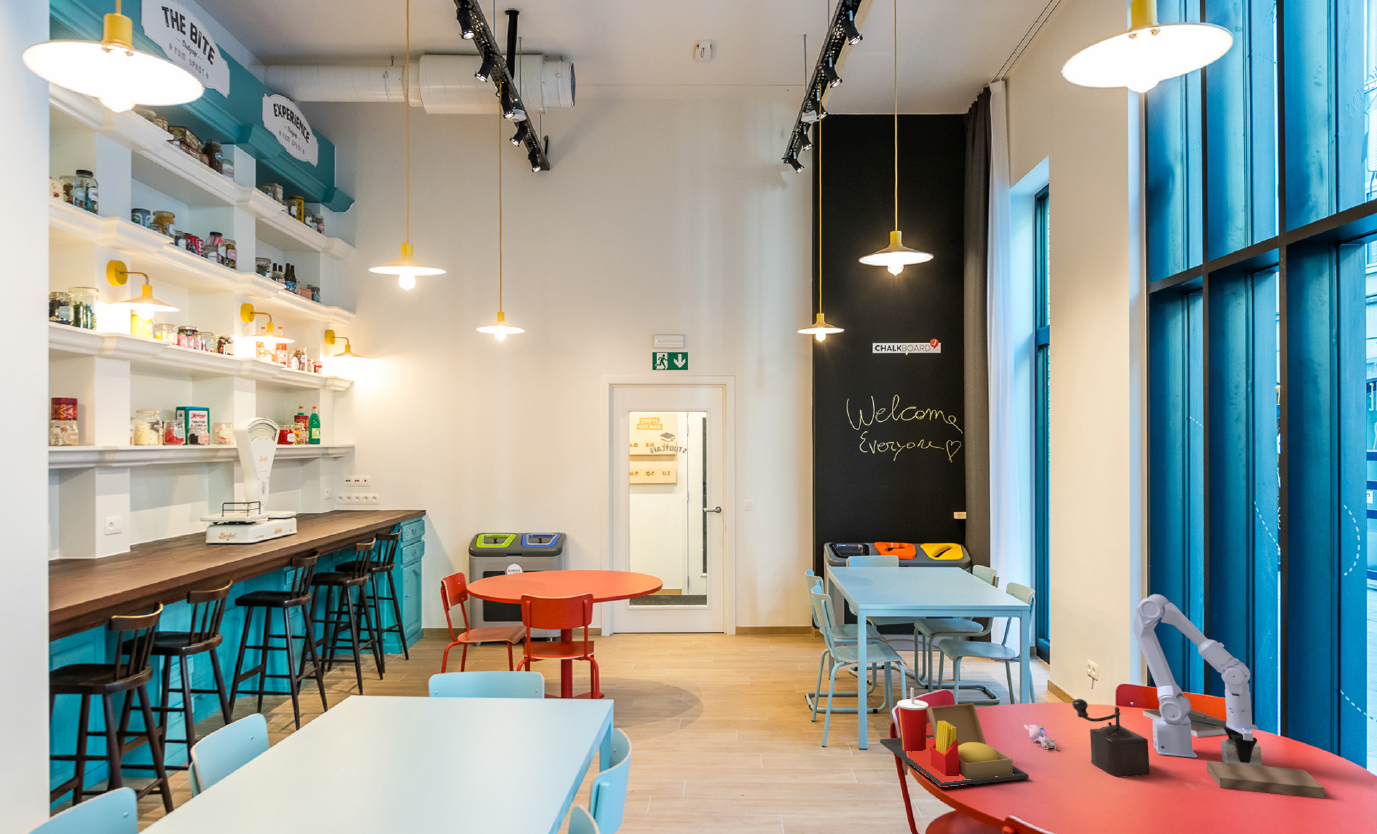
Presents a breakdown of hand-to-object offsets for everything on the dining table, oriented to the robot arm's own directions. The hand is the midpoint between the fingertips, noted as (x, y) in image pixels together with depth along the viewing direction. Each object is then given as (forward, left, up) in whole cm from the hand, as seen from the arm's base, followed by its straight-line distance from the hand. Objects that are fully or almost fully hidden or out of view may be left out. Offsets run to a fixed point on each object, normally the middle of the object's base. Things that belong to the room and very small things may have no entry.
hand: (1241, 758), depth 215 cm
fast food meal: (-76, -20, -2) cm, 78 cm away
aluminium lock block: (0, 0, -2) cm, 2 cm away
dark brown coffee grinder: (-34, -13, -2) cm, 36 cm away
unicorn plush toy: (-51, +4, -2) cm, 51 cm away
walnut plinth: (+1, -13, -2) cm, 13 cm away
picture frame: (-4, +36, -3) cm, 36 cm away
